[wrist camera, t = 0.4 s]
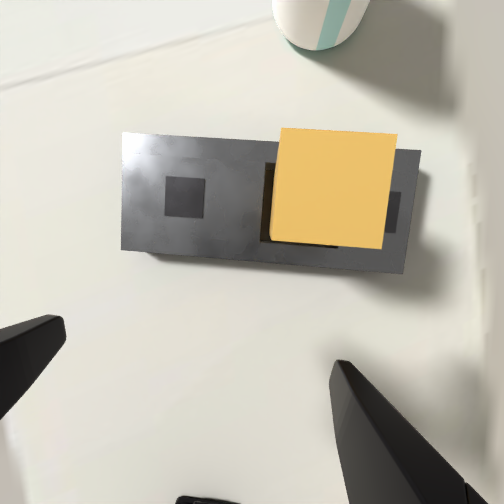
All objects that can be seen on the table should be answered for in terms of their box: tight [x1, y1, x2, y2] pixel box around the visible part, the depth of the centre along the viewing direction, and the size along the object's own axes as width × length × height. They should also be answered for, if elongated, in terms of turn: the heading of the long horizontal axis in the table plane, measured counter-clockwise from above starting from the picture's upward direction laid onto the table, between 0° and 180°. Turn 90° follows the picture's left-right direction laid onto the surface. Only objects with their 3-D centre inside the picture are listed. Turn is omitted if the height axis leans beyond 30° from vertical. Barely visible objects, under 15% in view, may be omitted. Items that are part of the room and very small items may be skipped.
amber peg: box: [269, 128, 397, 249], centre depth 15 cm, size 4×4×11 cm
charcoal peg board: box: [121, 133, 421, 274], centre depth 20 cm, size 9×22×3 cm, turn 86°
